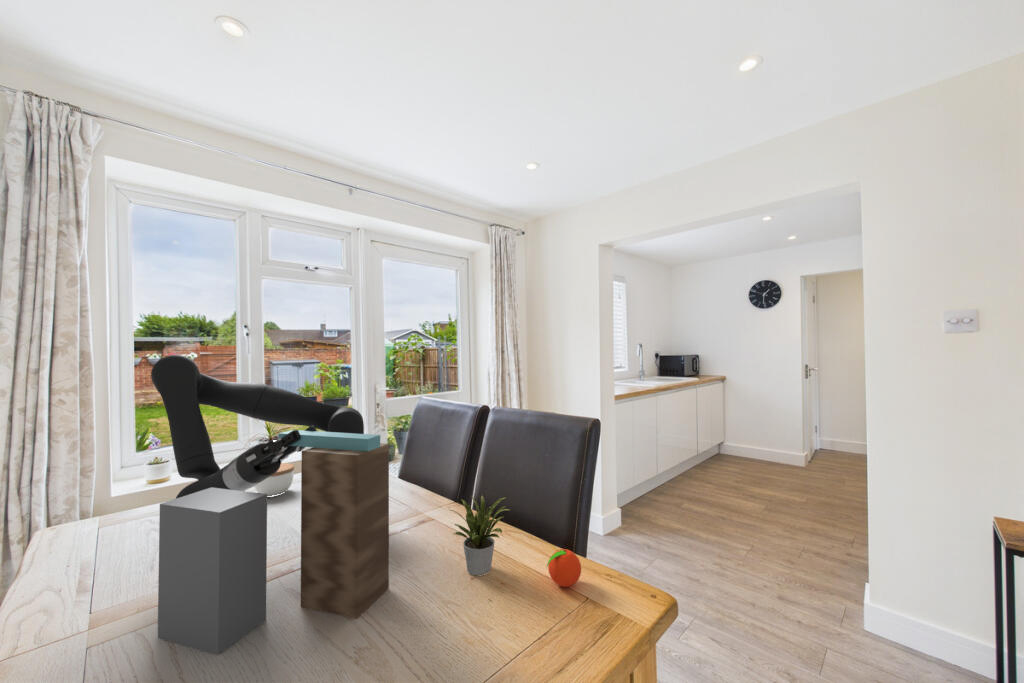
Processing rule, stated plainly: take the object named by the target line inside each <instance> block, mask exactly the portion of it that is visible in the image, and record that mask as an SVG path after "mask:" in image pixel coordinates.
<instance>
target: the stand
mask: <svg viewBox="0 0 1024 683" xmlns="http://www.w3.org/2000/svg"><path fill="white" fill-rule="evenodd" d="M389 450H390V444H389V443H387V442H386V443H385V442H380V447H379V448H376V449H373V450H371V451H354V450H341V449H327V448H314V447H309V448H307V449H303V450H302V451H301V474H300V476H301V488H300V489H301V490H300V491H301V492H300V494H301V497H300V498H301V500H300V501H301V502H300V504H301V505H300V508H301V509H300V511H301V512H300V515H301V516H300V607H302V608H305V609H310V610H315V611H319V612H325V613H327V614H328V613H329V614H335V615H338V616H342V617H345V618H346V617H347V618H352V619H355V620H357V619H359V617H361V616H362V615H363V614H364V613H365V612H366V611H368V609H369V608H371V606H373V604H375V602H377V600H379V599H380V598H381V597H382V596H383V595H384V594H385V593H386V592H387V591H388V590H389V589H390V587H389V586H390V583H389V582H390V578H389V577H390V576H389V575H390V568H389V567H390V560H389V559H390V550H389V549H390V548H389V547H390V544H389V543H390V540H389V539H390V537H389V536H390V530H389V528H390V525H389V524H390V523H389V522H390V518H389V517H390V514H389V513H390V508H389V507H390V495H389V494H390V491H389V490H390V479H389V477H390V468H389V466H390V462H389V461H390V457H389V456H390V451H389Z"/></svg>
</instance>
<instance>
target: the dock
mask: <svg viewBox="0 0 1024 683" xmlns="http://www.w3.org/2000/svg"><path fill="white" fill-rule="evenodd" d="M267 525H268V498H267V494H262V493H258V492H253V491H252V492H251V491H247V490H245V491H237V490H229V489H221V488H212V487H211V488H208V489H205V490H202V491H199V492H195V493H192V494H189V495H186V496H183V497H180V498H177V499H176V498H173V499H171V500H169V501H168V500H167V501H164V502H161V503H159V528H158V530H159V532H158V533H159V534H158V536H159V537H158V538H159V539H158V540H159V541H158V542H159V543H158V591H157V592H158V596H157V598H158V599H157V601H158V602H157V639H160V640H163V641H167V642H171V643H174V644H176V645H180V646H183V647H187V646H188V647H187V648H191V647H192V649H196V650H198V649H199V650H198V651H202V652H205V653H209V654H212V655H217V656H219V655H220V654H221V653H223V652H224V651H226V650H227V649H229V648H230V647H231V646H233V645H234V644H235V643H236V642H238V641H240V640H241V639H242V638H243V637H246V636H247V634H249V633H250V632H252V631H254V630H255V629H256V628H257V627H258V626H260V625H261V624H262V623H264V622H265V621H266V620H267V569H268V568H267V566H268V565H267V560H268V559H267V558H268V557H267V554H268V553H267V551H268V550H267V549H268V546H267V544H268V537H267V536H268V526H267Z"/></svg>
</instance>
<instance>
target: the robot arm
mask: <svg viewBox="0 0 1024 683" xmlns="http://www.w3.org/2000/svg"><path fill="white" fill-rule="evenodd" d="M150 377H151V381H152V384H153V385H154V387H155V389H156V391H157V392H158V394H160V396H161V399H162V402H163V405H164V409H165V412H166V415H167V422H168V425H169V426H168V427H169V432H170V437H171V444H172V450H173V454H174V455H173V456H174V458H175V459H174V460H175V464H176V469H177V473H178V475H179V476H180V477H181V478H185V479H195V480H196V481H194V482H192V483H189V484H187V485H186V486H185V487H183V488H182V489H181V490H180V491H179V493H178V494H177V495H176V497H175V499H177V498H180V497H183V496H186V495H189V494H192V493H195V492H199V491H202V490H205V489H208V488H211V487H212V488H221V489H229V490H237V491H247V490H249V489H251V488H255V487H254V486H255V485H257V484H259V483H260V482H262V481H263V480H265V479H267V478H268V477H270V476H271V475H273V474H274V473H276V472H277V471H278V470H279V468H280V465H281V463H282V461H284V460H286V459H288V458H289V457H290V456H291V455H293V454H294V453H296V452H297V453H298V452H302V451H303V450H305V448H306V447H300V446H290V445H292V444H294V443H295V442H297V441H298V440H300V438H301V437H300V434H299V431H298V430H299V429H292V430H293V431H292V432H290V433H289V434H287V435H286V436H284V437H281V438H278V437H277V439H275V440H274V439H273V440H269V441H267V442H261V443H257V444H254V445H252V446H251V447H250V448H248V449H247V450H246V451H244V452H242V453H241V454H239V455H238V456H236V457H235V458H233V459H232V460H231V461H230V462H229V463H228V464H226V465H225V466H223V467H222V468H221V467H220V466H219V464H218V463H217V462H216V460H215V454H214V451H213V447H212V443H211V440H210V436H209V432H208V429H207V426H206V423H205V419H204V417H203V415H202V414H203V413H202V411H201V408H200V405H203V406H205V405H206V406H210V407H214V408H218V409H222V410H224V411H227V412H230V413H234V414H238V415H241V416H245V417H249V418H253V419H255V420H259V421H264V422H269V423H273V424H280V425H281V424H282V425H289V426H292V425H293V426H305V427H307V428H306V429H304V431H317V430H320V431H322V432H338V433H355V434H365V425H364V424H365V423H364V419H363V415H362V413H361V412H359V410H357V409H356V408H353V407H347V406H343V405H342V406H341V405H335V404H331V403H326V402H321V401H318V400H314V399H311V398H309V397H306V396H304V395H301V394H298V393H295V392H293V391H289V390H287V389H283V388H279V387H276V386H273V385H270V384H266V383H261V382H244V381H243V382H242V381H241V382H239V381H238V382H234V381H227V380H223V379H219V378H215V377H213V376H210V375H207V374H204V373H202V372H200V370H199V367H198V365H197V364H196V363H195V362H194V361H193V360H192V359H191V358H189V357H187V356H185V355H181V354H170V355H166V356H164V357H162V358H161V359H159V360H157V362H155V364H154V365H153V366H152V369H151V372H150Z"/></svg>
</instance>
